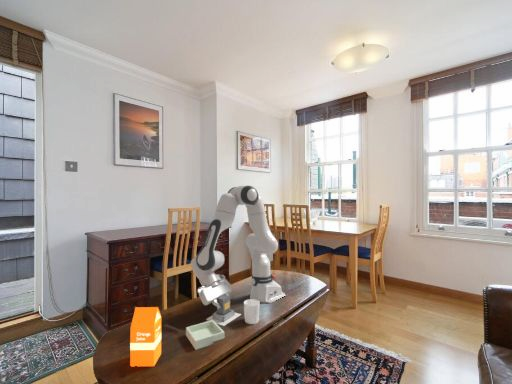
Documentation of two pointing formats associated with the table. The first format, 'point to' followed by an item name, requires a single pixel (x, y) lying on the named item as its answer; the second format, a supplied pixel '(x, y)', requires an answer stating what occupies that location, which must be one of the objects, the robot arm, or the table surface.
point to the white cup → (251, 311)
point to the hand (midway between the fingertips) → (224, 305)
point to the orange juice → (145, 337)
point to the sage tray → (204, 334)
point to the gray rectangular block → (224, 305)
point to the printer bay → (223, 317)
